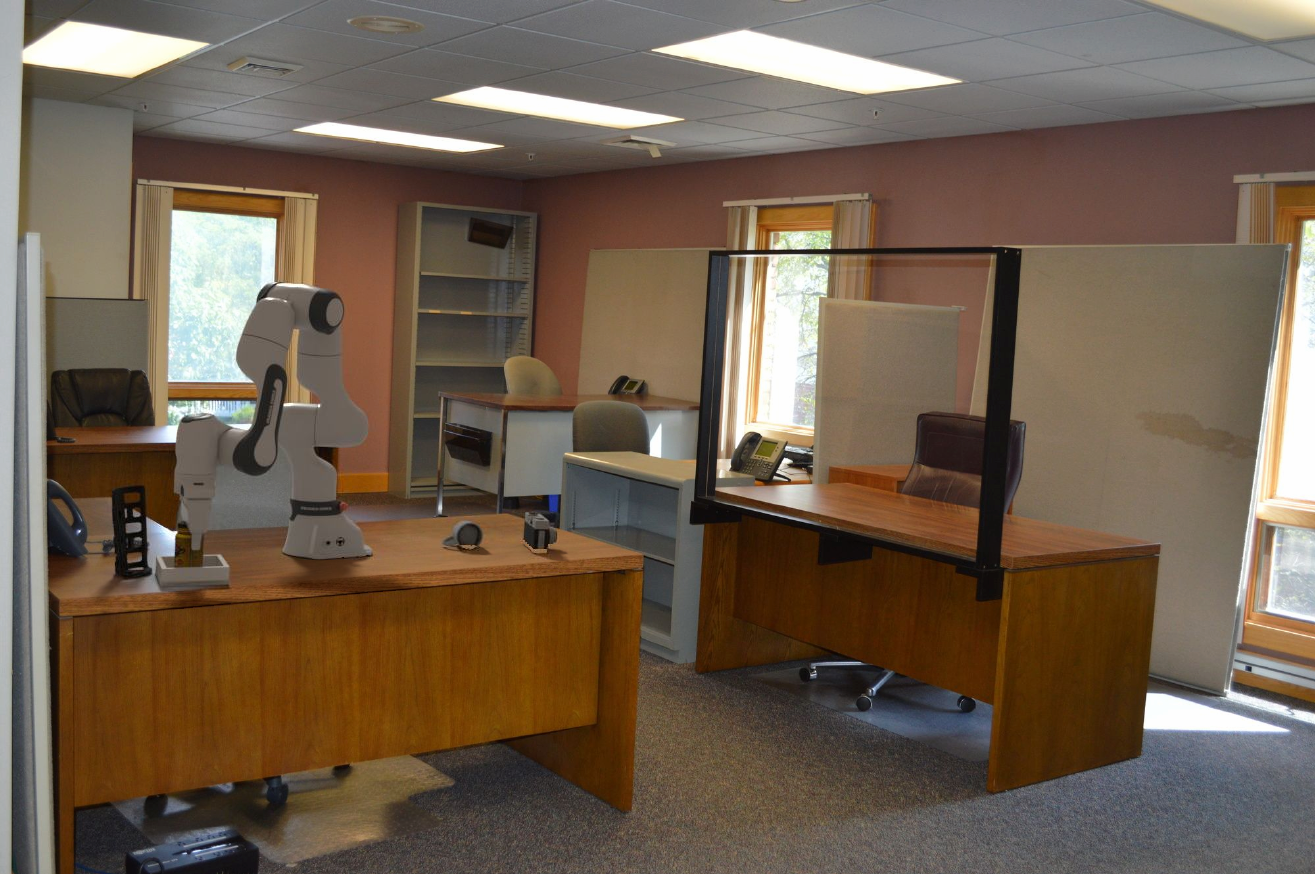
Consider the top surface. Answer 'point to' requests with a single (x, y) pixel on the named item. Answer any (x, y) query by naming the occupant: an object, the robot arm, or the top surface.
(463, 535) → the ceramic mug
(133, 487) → the holder
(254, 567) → the top surface
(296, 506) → the robot arm
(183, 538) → the condiment
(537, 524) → the camera
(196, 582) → the tray
